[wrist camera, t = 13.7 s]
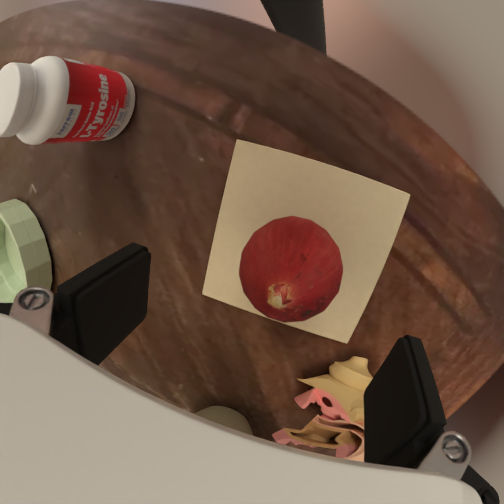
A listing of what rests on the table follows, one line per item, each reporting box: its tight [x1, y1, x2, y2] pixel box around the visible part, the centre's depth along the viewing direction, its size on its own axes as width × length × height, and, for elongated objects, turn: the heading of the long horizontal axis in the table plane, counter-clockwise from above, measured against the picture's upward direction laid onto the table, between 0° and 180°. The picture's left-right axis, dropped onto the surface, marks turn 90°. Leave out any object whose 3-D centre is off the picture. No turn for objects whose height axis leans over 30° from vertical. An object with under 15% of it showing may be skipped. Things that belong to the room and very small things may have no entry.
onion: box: [239, 216, 343, 323], centre depth 16 cm, size 6×6×8 cm
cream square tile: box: [202, 139, 410, 344], centre depth 20 cm, size 12×12×1 cm
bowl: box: [0, 199, 52, 303], centre depth 27 cm, size 13×13×4 cm
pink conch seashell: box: [272, 356, 373, 462], centre depth 21 cm, size 9×10×10 cm
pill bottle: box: [0, 56, 135, 145], centre depth 16 cm, size 6×6×11 cm
